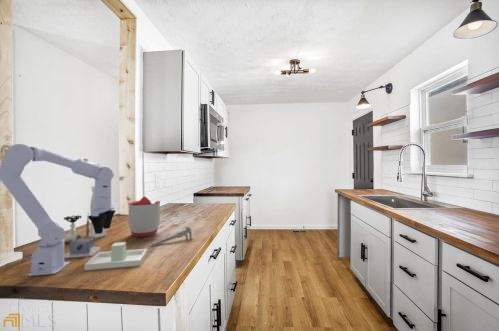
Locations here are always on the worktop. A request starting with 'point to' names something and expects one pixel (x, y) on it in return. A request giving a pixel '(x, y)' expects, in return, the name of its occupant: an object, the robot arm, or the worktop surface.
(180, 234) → the caliper
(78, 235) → the valve
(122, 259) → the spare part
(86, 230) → the twisted vase
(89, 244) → the mounted unit
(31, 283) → the worktop surface
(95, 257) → the parts tray
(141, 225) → the citrus juicer
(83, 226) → the worktop surface
